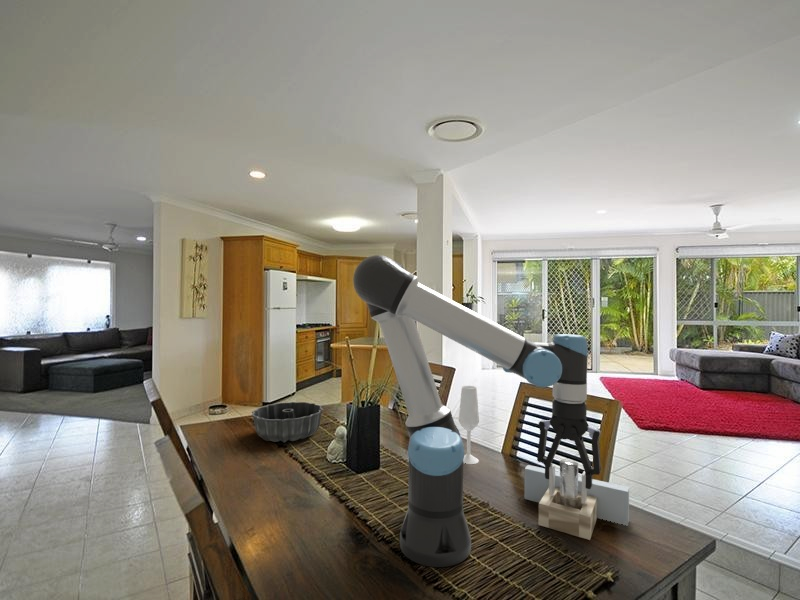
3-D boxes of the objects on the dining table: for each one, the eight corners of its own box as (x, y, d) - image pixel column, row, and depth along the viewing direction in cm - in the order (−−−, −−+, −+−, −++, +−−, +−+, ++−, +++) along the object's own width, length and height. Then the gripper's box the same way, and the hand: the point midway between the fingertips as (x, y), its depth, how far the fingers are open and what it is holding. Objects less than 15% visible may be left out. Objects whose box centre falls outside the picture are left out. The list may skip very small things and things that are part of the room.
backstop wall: (627, 526, 96) (628, 491, 96) (524, 498, 109) (524, 468, 109) (628, 520, 98) (629, 487, 98) (527, 494, 111) (527, 464, 111)
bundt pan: (235, 443, 150) (236, 415, 150) (276, 422, 175) (277, 399, 175) (300, 451, 142) (300, 422, 142) (333, 428, 168) (333, 404, 168)
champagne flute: (478, 456, 138) (478, 385, 138) (479, 464, 132) (480, 389, 132) (457, 455, 139) (458, 384, 139) (458, 463, 132) (459, 388, 132)
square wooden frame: (590, 540, 90) (590, 517, 90) (538, 524, 96) (538, 503, 96) (597, 518, 99) (597, 497, 99) (549, 505, 105) (549, 485, 105)
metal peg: (576, 528, 95) (576, 467, 95) (557, 523, 97) (558, 463, 97) (579, 520, 98) (579, 461, 98) (561, 515, 100) (561, 458, 100)
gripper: (617, 402, 96) (615, 502, 95) (532, 391, 106) (530, 481, 106) (613, 409, 89) (611, 516, 89) (523, 396, 100) (521, 492, 100)
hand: (567, 496), depth 98 cm, fingers open, 6 cm apart
